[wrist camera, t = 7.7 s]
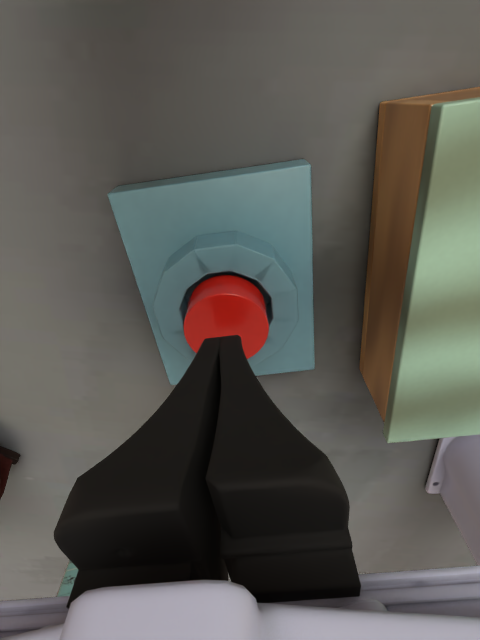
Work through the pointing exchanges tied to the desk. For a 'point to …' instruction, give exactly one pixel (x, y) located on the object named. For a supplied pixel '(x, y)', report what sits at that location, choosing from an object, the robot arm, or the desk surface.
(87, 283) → the desk surface
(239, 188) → the block
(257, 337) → the button
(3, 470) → the mate gourd
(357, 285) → the desk surface
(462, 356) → the lid
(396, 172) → the box
